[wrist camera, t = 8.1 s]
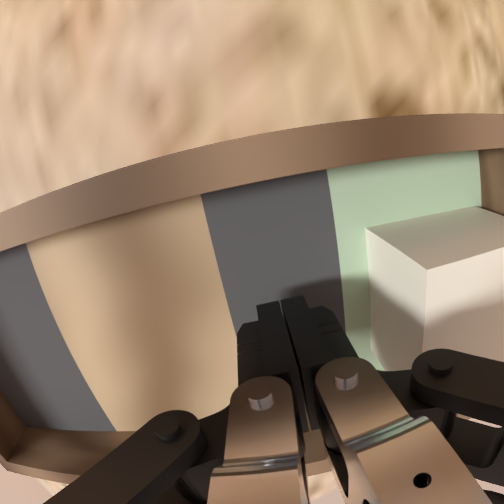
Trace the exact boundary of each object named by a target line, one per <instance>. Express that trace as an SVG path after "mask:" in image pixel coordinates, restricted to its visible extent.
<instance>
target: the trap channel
mask: <svg viewBox="0 0 504 504" xmlns="http://www.w3.org/2000/svg"><path fill="white" fill-rule="evenodd" d="M471 206H476V207H479V208H482V209H485V210H488V211H491V212H494V213H497V214H499V215H502V216H504V114H429V115H410V116H395V117H382V118H371V119H361V120H352V121H343V122H335V123H327V124H320V125H312V126H306V127H299V128H293V129H287V130H281V131H275V132H269V133H264V134H258V135H253V136H248V137H243V138H238V139H233V140H229V141H224V142H219V143H215V144H210V145H206V146H202V147H198V148H194V149H189V150H185V151H181V152H177V153H174V154H170V155H166V156H162V157H159V158H155V159H151V160H148V161H144V162H141V163H137V164H134V165H131V166H127V167H124V168H121V169H117V170H114V171H111V172H108V173H105V174H102V175H99V176H96V177H93V178H90V179H87V180H84V181H81V182H78V183H75V184H72V185H70V186H67V187H64V188H61V189H59V190H56V191H53V192H51V193H48V194H45V195H43V196H40V197H38V198H35V199H33V200H30V201H28V202H25V203H23V204H20V205H18V206H16V207H13V208H11V209H9V210H6V211H4V212H2V213H0V463H1V465H2V466H3V467H4V468H5V469H6V470H7V471H11V472H15V473H19V474H23V475H27V476H31V477H35V478H40V479H45V480H50V481H55V482H60V483H66V484H70V483H72V482H73V481H74V480H76V479H77V478H78V477H80V476H81V475H82V474H84V473H85V472H86V471H87V470H89V469H90V468H91V467H93V466H94V465H95V464H96V463H98V462H99V461H100V460H102V459H103V458H104V457H105V456H107V455H108V454H109V453H110V452H112V451H113V450H114V449H115V448H117V447H118V446H119V445H120V444H121V443H123V442H124V441H125V440H126V439H128V438H129V437H130V436H131V435H132V434H134V433H135V432H136V431H137V430H139V429H140V428H141V427H142V426H143V425H145V424H146V423H147V422H148V421H149V420H151V419H152V418H153V417H155V416H156V415H158V414H160V413H163V412H166V411H170V410H184V411H188V412H190V413H192V414H194V415H195V416H196V417H197V419H198V420H199V419H202V418H204V417H207V416H210V415H212V414H215V413H217V412H219V411H221V410H223V409H224V408H226V407H227V406H228V405H229V404H230V398H231V395H232V393H233V392H234V390H235V389H236V388H237V387H238V367H237V355H238V354H237V332H238V331H239V329H240V328H241V326H242V324H243V323H248V322H253V321H258V314H257V308H256V305H259V304H264V303H268V302H273V301H277V300H279V304H280V307H281V301H280V300H281V299H286V298H290V297H294V296H299V295H303V296H304V298H305V300H306V303H307V305H308V307H309V309H310V308H314V307H318V306H324V307H326V308H328V309H329V310H331V311H333V312H334V314H335V316H336V318H337V319H338V322H339V323H340V325H341V326H342V328H343V330H344V332H345V333H346V335H347V337H348V339H349V340H350V342H351V344H352V346H353V348H354V349H355V351H356V353H357V355H358V356H359V358H362V359H365V360H367V361H368V362H370V363H371V364H372V365H373V366H374V367H375V369H376V370H380V371H385V370H384V368H383V367H382V365H381V364H380V362H379V360H378V359H377V357H376V356H375V354H374V352H373V351H372V349H371V319H370V290H369V271H368V256H367V244H366V232H365V228H366V227H371V226H376V225H381V224H386V223H391V222H396V221H401V220H406V219H411V218H416V217H421V216H426V215H431V214H436V213H441V212H446V211H451V210H456V209H461V208H466V207H471ZM281 310H282V307H281ZM282 314H283V312H282ZM305 410H306V408H305ZM306 416H307V422H308V427H309V432H305V433H303V436H304V441H305V447H306V449H305V453H304V455H305V461H306V469H307V476H312V475H316V474H320V473H324V472H329V471H332V469H331V466H330V464H329V461H328V459H327V456H326V454H325V451H324V443H323V437H322V434H321V430H320V429H317V430H311V426H310V423H309V419H308V415H307V411H306ZM457 417H459V418H463V419H466V420H468V419H470V418H471V417H467V416H464V415H461V414H457Z"/></svg>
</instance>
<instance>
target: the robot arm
mask: <svg viewBox="0 0 504 504" xmlns="http://www.w3.org/2000/svg"><path fill="white" fill-rule="evenodd" d="M280 301H281V307H282V310H281V307H280V304H279V300H277V301H273V302H268V303H264V304H259V305H256V308H257V314H258V321H253V322H248V323H243V324H242V326H241V328H240V329H239V331H238V332H237V354H238V355H237V367H238V387H237V388H236V389H235V390H234V392H233V393H232V395H231V398H230V404H229V405H228V406H227V407H226V408H224V409H223V410H221V411H219V412H217V413H215V414H212V415H210V416H207V417H204V418H202V419H199V420H198V419H197V417H196V416H195V415H194V414H192V413H190V412H188V411H184V410H170V411H166V412H163V413H160V414H158V415H156V416H155V417H153V418H152V419H151V420H149V421H148V422H147V423H146V424H145V425H143V426H142V427H141V428H140V429H139V430H137V431H136V432H135V433H134V434H132V435H131V436H130V437H129V438H128V439H126V440H125V441H124V442H123V443H121V444H120V445H119V446H118V447H117V448H115V449H114V450H113V451H112V452H110V453H109V454H108V455H107V456H105V457H104V458H103V459H102V460H100V461H99V462H98V463H96V464H95V465H94V466H93V467H91V468H90V469H89V470H87V471H86V472H85V473H84V474H82V475H81V476H80V477H78V478H77V479H76V480H74V481H73V482H72V483H70V484H69V485H68V486H66V487H65V488H64V489H62V490H61V491H60V492H58V493H57V494H56V495H54V496H53V497H51V498H50V499H49V500H47V501H46V502H45V503H43V504H310V496H309V487H308V478H307V469H306V461H305V455H304V453H305V449H306V447H305V441H304V436H303V433H305V432H309V427H308V422H307V416H306V411H307V415H308V419H309V423H310V426H311V430H317V429H320V430H321V434H322V437H323V443H324V451H325V454H326V456H327V459H328V461H329V464H330V466H331V469H332V471H333V474H334V476H335V479H336V482H337V484H338V487H339V489H340V492H341V494H342V497H343V499H344V502H345V504H504V495H503V494H500V493H497V492H493V491H488V490H483V489H482V488H481V487H480V485H479V484H478V483H477V481H476V480H475V478H476V479H478V480H482V481H486V482H489V483H492V484H496V485H500V486H503V487H504V362H502V361H497V360H493V359H488V358H484V357H480V356H475V355H471V354H467V353H463V352H459V351H455V350H450V349H443V348H439V349H432V350H428V351H426V352H423V353H422V354H420V355H419V356H418V357H417V358H416V359H415V360H414V362H413V364H412V368H411V369H409V370H399V371H380V370H376V369H375V367H374V366H373V365H372V364H371V363H370V362H368V361H367V360H365V359H362V358H359V356H358V355H357V353H356V351H355V349H354V348H353V346H352V344H351V342H350V340H349V339H348V337H347V335H346V333H345V332H344V330H343V328H342V326H341V325H340V323H339V322H338V319H337V318H336V316H335V314H334V312H333V311H331V310H329V309H328V308H326V307H324V306H318V307H314V308H310V309H309V307H308V305H307V303H306V300H305V298H304V296H303V295H299V296H294V297H290V298H286V299H281V300H280ZM282 312H283V314H282ZM305 408H306V410H305ZM457 414H461V415H464V416H467V417H471V418H475V419H478V420H482V421H485V422H489V423H493V424H496V425H500V426H502V427H501V428H494V427H490V426H487V425H483V424H480V423H476V422H473V421H469V420H466V419H463V418H459V417H457Z"/></svg>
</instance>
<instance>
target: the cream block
mask: <svg viewBox="0 0 504 504" xmlns="http://www.w3.org/2000/svg"><path fill="white" fill-rule="evenodd" d="M365 232H366V244H367V256H368V271H369V290H370V319H371V349H372V351H373V352H374V354H375V356H376V357H377V359H378V360H379V362H380V364H381V365H382V367H383V368H384V370H385V371H399V370H409V369H411V368H412V364H413V362H414V360H415V359H416V358H417V357H418V356H419V355H420V354H422V353H423V352H426V351H428V350H432V349H439V348H443V349H450V350H455V351H459V352H463V353H467V354H471V355H475V356H480V357H484V358H488V359H493V360H497V361H502V362H504V216H502V215H499V214H497V213H494V212H491V211H488V210H485V209H482V208H479V207H476V206H471V207H466V208H461V209H456V210H451V211H446V212H441V213H436V214H431V215H426V216H421V217H416V218H411V219H406V220H401V221H396V222H391V223H386V224H381V225H376V226H371V227H366V228H365Z"/></svg>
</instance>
